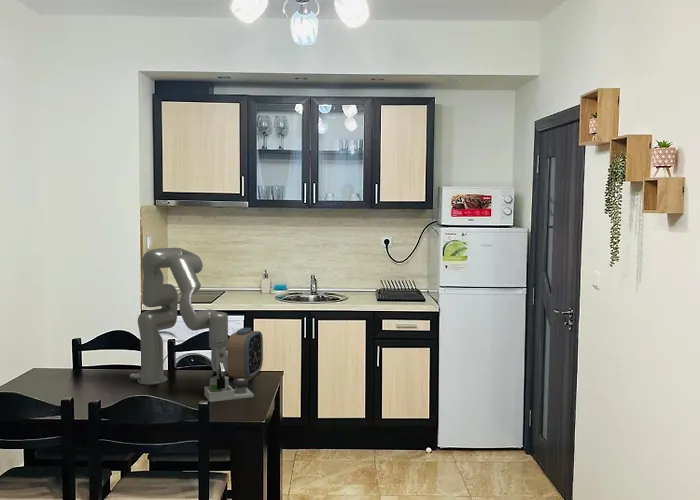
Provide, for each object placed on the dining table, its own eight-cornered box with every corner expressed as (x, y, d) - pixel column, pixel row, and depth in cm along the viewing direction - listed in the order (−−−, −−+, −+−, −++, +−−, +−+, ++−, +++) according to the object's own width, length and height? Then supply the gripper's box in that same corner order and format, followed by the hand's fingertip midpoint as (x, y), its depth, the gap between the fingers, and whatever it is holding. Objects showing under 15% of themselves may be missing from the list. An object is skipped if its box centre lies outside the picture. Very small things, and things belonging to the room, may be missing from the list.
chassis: (209, 401, 264) (209, 393, 264) (204, 394, 274) (204, 386, 273) (253, 396, 271) (253, 388, 271) (247, 390, 281) (247, 382, 280)
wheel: (235, 393, 270) (235, 382, 270) (232, 389, 276) (231, 378, 275) (249, 391, 273) (249, 380, 272) (246, 388, 278) (246, 377, 278)
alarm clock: (247, 383, 292) (247, 334, 290) (227, 382, 293) (227, 333, 292) (263, 371, 312) (263, 325, 310) (244, 370, 314) (243, 325, 312)
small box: (209, 390, 269) (209, 378, 269) (217, 386, 274) (217, 374, 274) (221, 392, 267) (221, 380, 267) (229, 388, 272) (229, 376, 272)
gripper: (232, 346, 263) (232, 390, 264) (223, 338, 279) (223, 379, 280) (213, 348, 260) (213, 392, 261) (204, 339, 276) (205, 381, 277)
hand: (218, 385), depth 270 cm, fingers closed on small box, 7 cm apart
